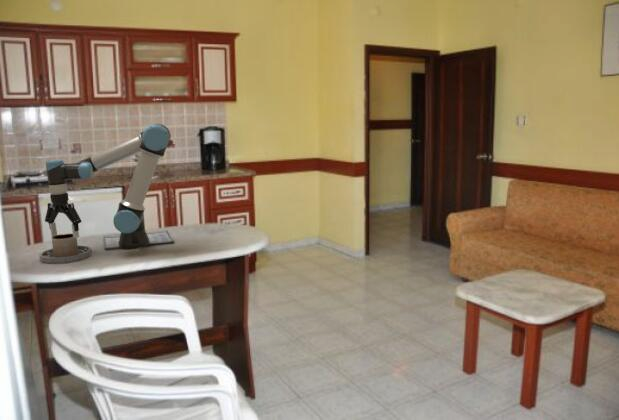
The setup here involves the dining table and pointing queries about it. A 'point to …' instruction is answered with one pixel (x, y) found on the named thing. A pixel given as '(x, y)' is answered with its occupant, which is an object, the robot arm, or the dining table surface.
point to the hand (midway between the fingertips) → (65, 237)
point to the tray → (49, 257)
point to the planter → (64, 245)
